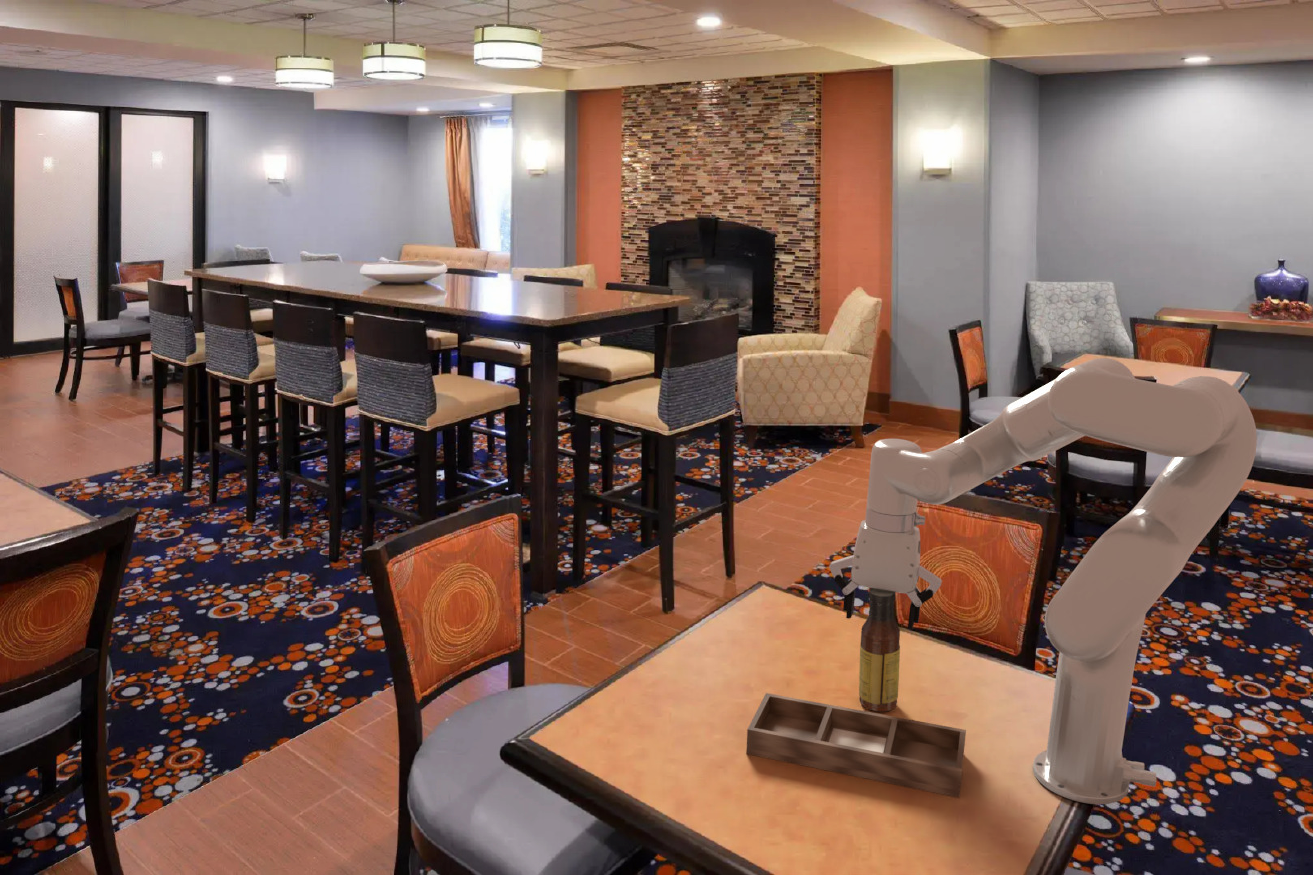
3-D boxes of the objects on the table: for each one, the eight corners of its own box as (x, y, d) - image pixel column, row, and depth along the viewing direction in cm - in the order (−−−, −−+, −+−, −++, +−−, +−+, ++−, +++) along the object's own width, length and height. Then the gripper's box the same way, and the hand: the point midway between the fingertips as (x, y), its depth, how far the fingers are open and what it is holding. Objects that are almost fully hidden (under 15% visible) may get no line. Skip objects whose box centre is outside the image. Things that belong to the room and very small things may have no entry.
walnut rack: (963, 754, 147) (966, 729, 146) (959, 797, 136) (961, 771, 135) (764, 715, 156) (765, 692, 155) (746, 753, 146) (747, 729, 145)
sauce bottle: (894, 696, 163) (903, 583, 158) (899, 715, 157) (909, 599, 152) (854, 693, 164) (862, 581, 159) (857, 712, 158) (866, 597, 153)
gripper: (949, 519, 154) (937, 620, 158) (838, 504, 159) (830, 602, 163) (946, 535, 147) (934, 640, 151) (830, 518, 152) (821, 620, 157)
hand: (880, 620), depth 157 cm, fingers open, 9 cm apart
